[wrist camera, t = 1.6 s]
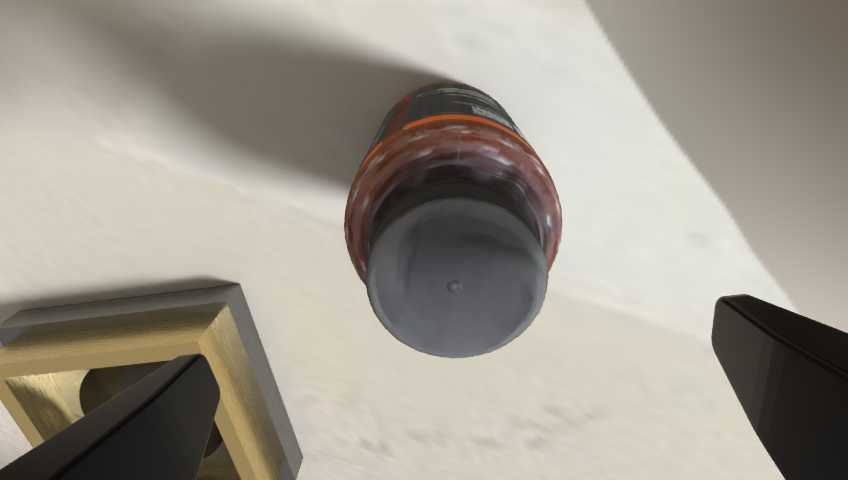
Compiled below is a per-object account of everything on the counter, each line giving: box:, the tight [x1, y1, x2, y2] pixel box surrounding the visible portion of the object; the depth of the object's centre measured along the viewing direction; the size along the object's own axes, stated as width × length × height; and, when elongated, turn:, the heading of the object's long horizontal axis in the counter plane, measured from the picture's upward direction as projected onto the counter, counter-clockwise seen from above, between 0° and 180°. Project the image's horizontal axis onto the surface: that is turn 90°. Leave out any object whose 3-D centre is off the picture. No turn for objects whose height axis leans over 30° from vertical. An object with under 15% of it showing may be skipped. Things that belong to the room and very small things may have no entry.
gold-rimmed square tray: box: [0, 284, 303, 480], centre depth 25 cm, size 12×12×4 cm
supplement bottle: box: [344, 83, 562, 358], centre depth 15 cm, size 6×6×11 cm
